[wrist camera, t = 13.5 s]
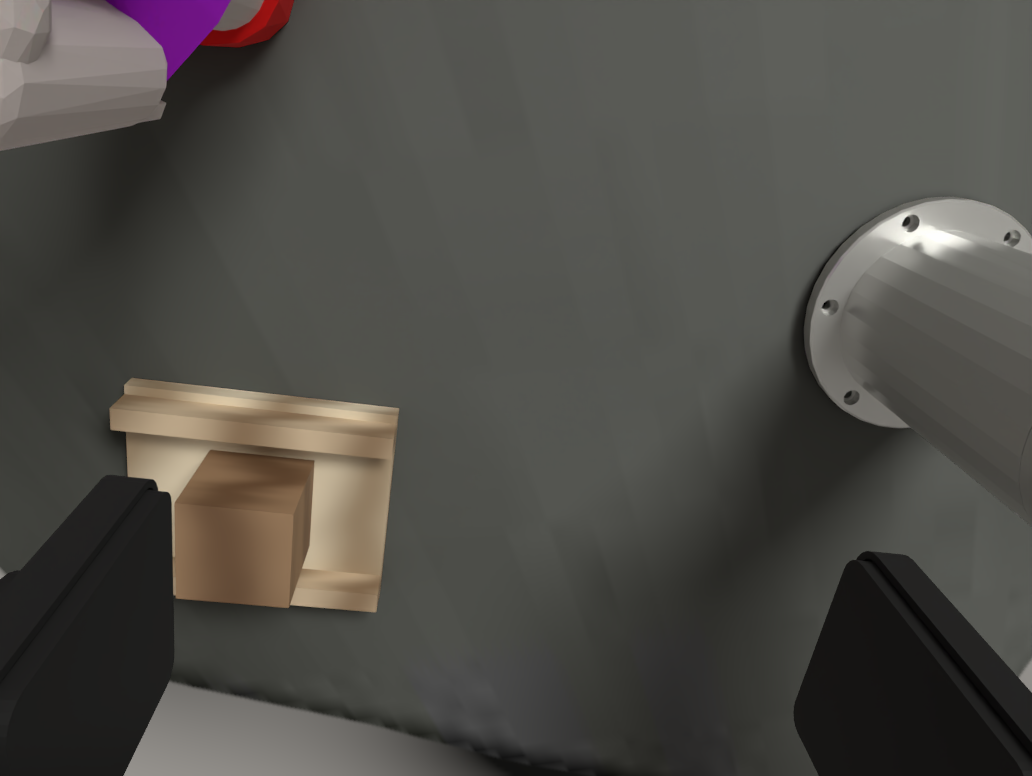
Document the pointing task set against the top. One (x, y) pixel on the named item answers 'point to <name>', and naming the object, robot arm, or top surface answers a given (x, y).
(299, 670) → the top surface
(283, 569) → the walnut block
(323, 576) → the board
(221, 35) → the toy
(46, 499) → the top surface
